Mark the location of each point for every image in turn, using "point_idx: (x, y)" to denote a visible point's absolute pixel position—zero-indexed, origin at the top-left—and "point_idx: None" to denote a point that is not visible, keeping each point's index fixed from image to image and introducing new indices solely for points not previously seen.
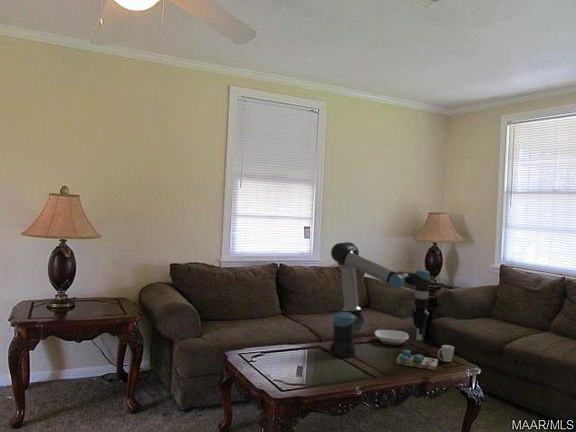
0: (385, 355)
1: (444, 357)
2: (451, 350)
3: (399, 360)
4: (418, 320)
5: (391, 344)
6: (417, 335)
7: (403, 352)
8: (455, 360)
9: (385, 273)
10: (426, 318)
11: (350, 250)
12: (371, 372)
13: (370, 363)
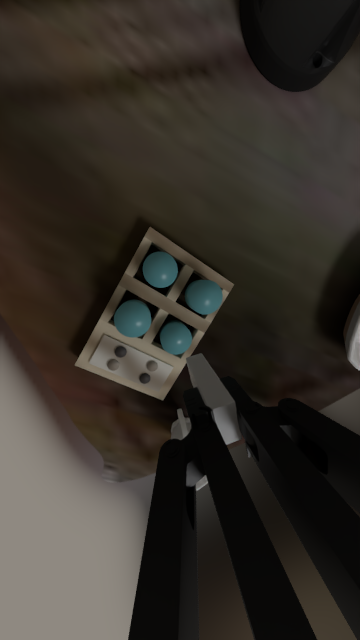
0: (251, 232)
1: (180, 426)
2: None
3: (147, 241)
4: (292, 501)
5: (352, 306)
6: (198, 369)
7: (200, 280)
8: None
9: None
10: None
11: None
12: (13, 27)
13: (156, 103)
